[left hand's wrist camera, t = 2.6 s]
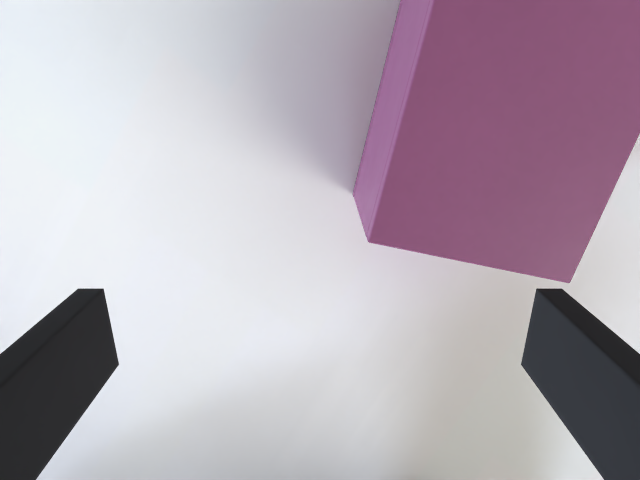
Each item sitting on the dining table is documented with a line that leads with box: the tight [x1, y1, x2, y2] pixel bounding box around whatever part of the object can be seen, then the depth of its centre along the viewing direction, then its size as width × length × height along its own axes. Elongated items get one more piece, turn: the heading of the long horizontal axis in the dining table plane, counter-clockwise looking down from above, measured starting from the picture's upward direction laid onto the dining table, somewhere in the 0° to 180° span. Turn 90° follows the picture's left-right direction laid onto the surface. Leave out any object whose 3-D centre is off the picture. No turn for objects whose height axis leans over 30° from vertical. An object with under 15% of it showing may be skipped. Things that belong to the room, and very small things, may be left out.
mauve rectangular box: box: [353, 0, 640, 283], centre depth 24 cm, size 14×11×10 cm
